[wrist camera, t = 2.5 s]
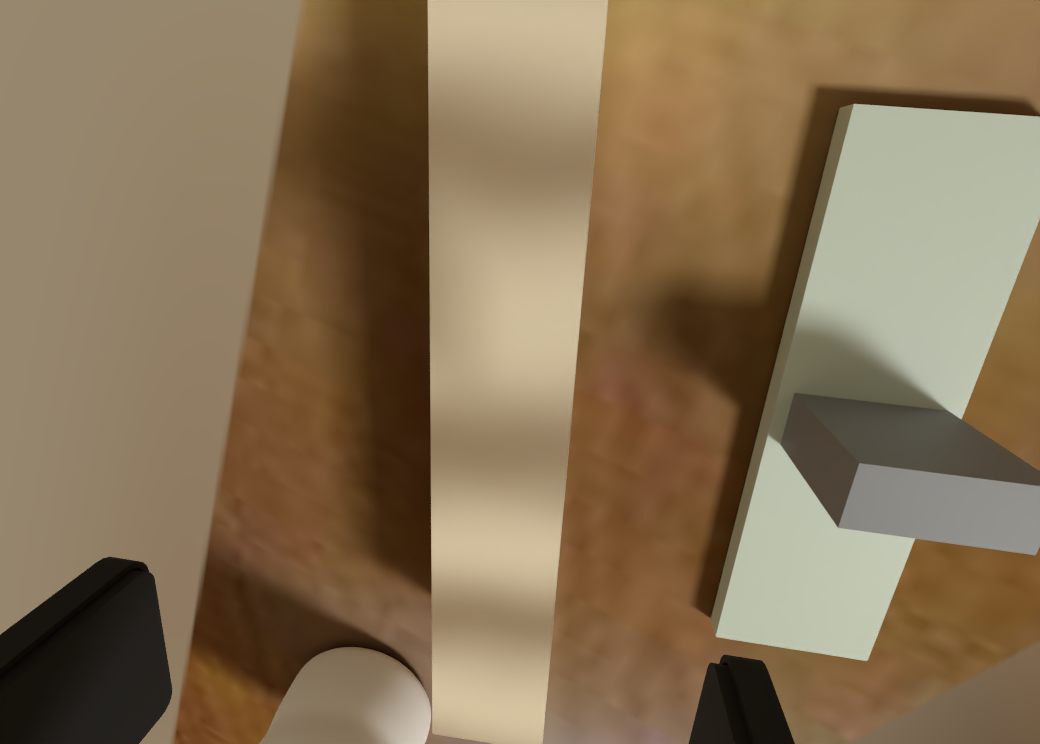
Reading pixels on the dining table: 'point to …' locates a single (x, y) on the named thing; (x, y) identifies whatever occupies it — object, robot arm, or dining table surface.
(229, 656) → the dining table surface
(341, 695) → the water bottle
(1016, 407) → the dining table surface
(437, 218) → the birch bar
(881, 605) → the stand
